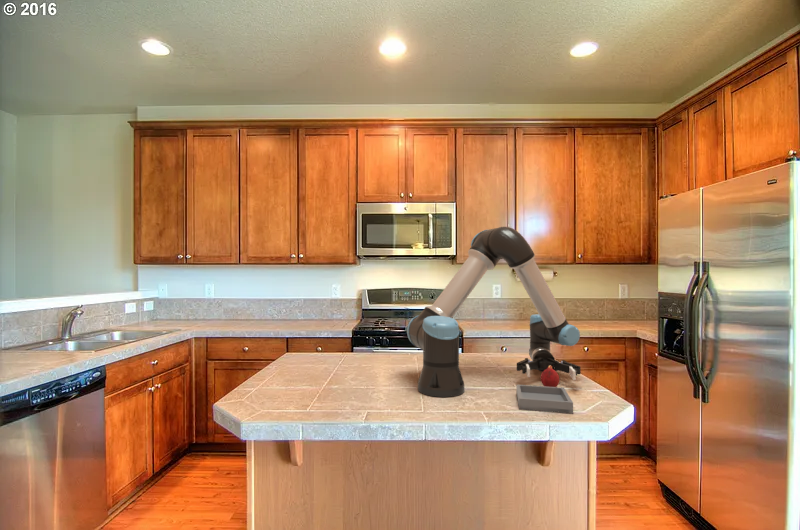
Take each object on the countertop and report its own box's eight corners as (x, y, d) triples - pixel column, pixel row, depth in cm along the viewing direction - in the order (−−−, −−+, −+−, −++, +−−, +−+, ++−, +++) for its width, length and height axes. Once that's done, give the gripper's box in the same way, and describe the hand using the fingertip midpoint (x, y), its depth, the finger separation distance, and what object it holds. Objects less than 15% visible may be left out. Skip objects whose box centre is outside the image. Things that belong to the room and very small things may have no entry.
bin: (573, 413, 103) (573, 402, 103) (519, 409, 107) (519, 398, 107) (564, 397, 117) (563, 387, 117) (516, 394, 120) (516, 384, 120)
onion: (557, 394, 120) (557, 368, 120) (538, 391, 123) (538, 366, 123) (561, 389, 125) (560, 364, 125) (542, 386, 128) (542, 362, 128)
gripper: (579, 371, 139) (594, 389, 118) (508, 367, 145) (510, 383, 124) (579, 351, 139) (594, 364, 118) (508, 347, 145) (510, 360, 124)
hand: (551, 374), depth 121 cm, fingers open, 13 cm apart
